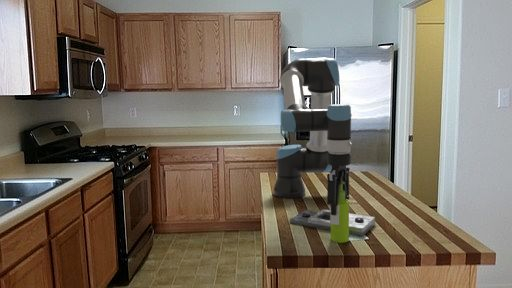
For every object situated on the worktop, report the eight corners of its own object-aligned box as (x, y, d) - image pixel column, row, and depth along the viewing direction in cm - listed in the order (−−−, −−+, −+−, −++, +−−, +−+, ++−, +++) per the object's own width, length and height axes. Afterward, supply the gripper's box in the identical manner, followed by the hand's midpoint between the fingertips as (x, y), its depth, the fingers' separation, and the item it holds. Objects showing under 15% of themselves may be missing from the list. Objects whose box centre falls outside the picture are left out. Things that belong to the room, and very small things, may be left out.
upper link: (307, 226, 148) (307, 216, 148) (323, 216, 160) (323, 207, 159) (362, 236, 137) (362, 226, 137) (374, 224, 148) (374, 215, 148)
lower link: (289, 222, 153) (289, 217, 152) (305, 213, 164) (305, 208, 163) (341, 232, 141) (341, 226, 141) (355, 221, 152) (355, 215, 152)
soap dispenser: (325, 236, 138) (325, 179, 134) (345, 235, 138) (346, 178, 135) (330, 243, 132) (330, 183, 129) (351, 242, 132) (351, 182, 129)
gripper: (338, 157, 121) (338, 231, 124) (360, 148, 137) (359, 214, 140) (315, 156, 125) (316, 227, 128) (338, 147, 141) (338, 211, 144)
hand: (338, 221), depth 134 cm, fingers closed on soap dispenser, 6 cm apart
